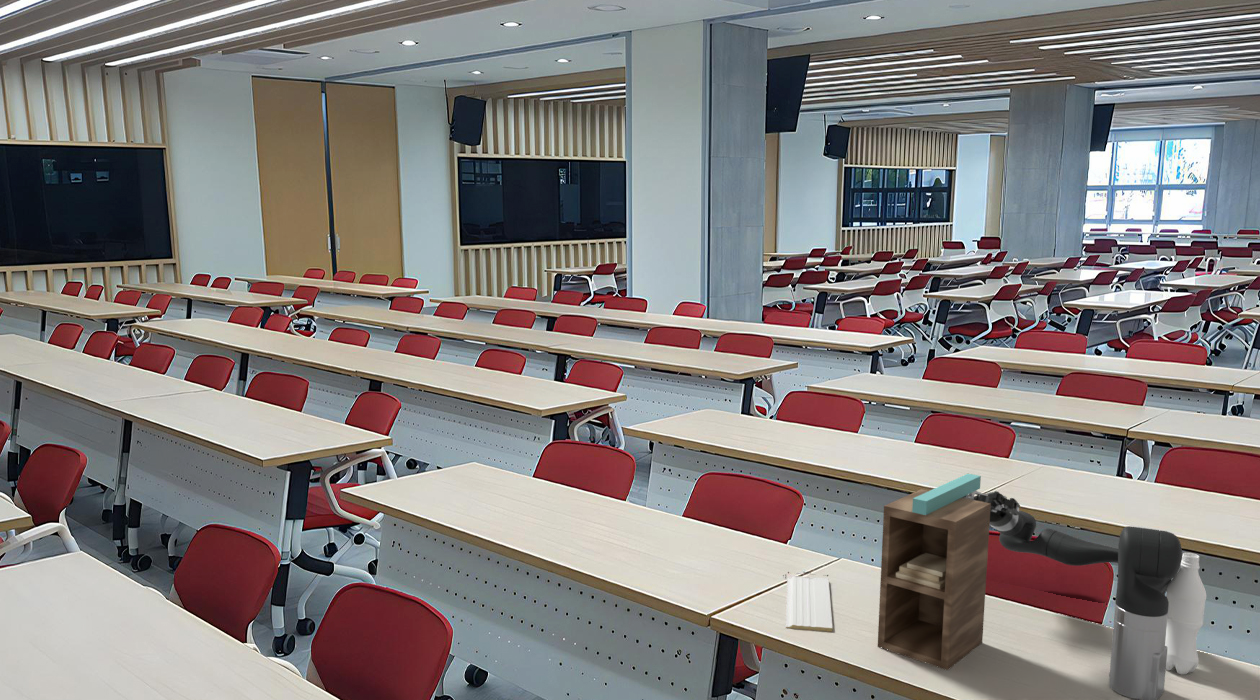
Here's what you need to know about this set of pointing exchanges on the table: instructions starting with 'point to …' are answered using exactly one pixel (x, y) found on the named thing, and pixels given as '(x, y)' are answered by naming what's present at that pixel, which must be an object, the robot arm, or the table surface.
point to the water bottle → (1184, 615)
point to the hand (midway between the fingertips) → (976, 491)
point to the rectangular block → (945, 494)
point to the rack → (933, 580)
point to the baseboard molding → (808, 603)
